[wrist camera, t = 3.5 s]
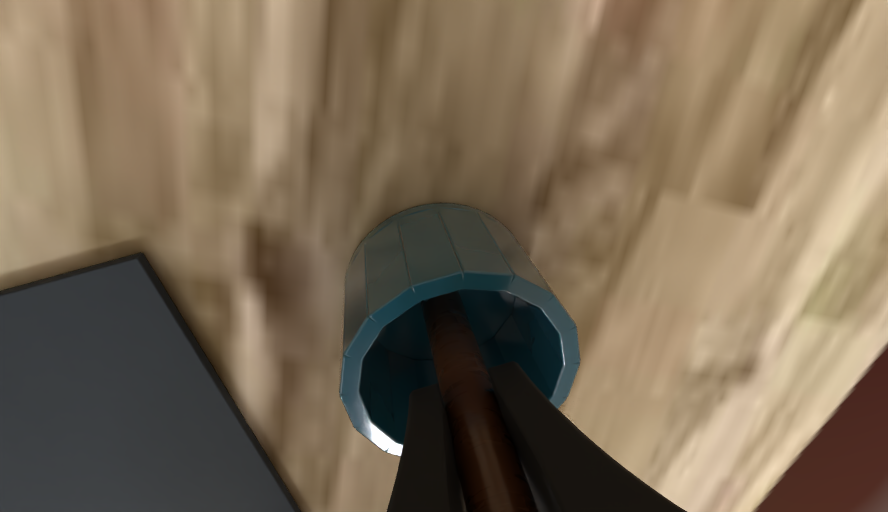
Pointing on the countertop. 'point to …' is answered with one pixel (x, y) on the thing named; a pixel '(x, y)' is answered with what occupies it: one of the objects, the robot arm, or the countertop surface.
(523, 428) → the robot arm
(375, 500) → the countertop surface
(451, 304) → the stirring stick
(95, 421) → the mat
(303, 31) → the countertop surface
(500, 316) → the espresso cup
